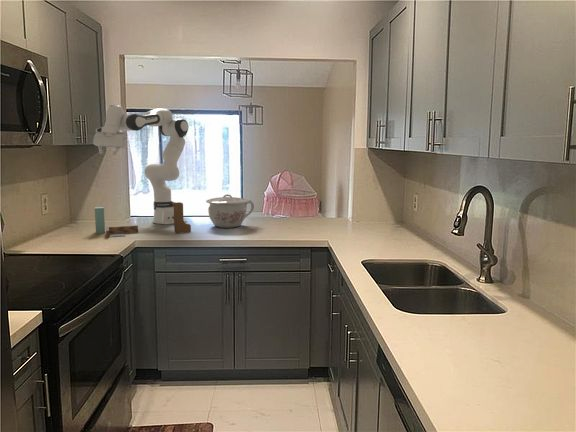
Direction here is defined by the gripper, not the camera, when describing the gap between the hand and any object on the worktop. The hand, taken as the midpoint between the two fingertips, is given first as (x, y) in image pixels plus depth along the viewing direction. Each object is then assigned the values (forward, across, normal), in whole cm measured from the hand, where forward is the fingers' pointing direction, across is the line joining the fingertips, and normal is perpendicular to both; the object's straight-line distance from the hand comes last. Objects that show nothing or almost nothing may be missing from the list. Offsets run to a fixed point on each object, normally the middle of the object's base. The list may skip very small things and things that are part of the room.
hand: (107, 154), depth 287 cm
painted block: (+46, 0, -5) cm, 47 cm away
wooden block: (+40, -46, -20) cm, 64 cm away
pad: (+47, -15, 0) cm, 49 cm away
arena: (+46, -17, -3) cm, 49 cm away
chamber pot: (+32, -64, -46) cm, 85 cm away
